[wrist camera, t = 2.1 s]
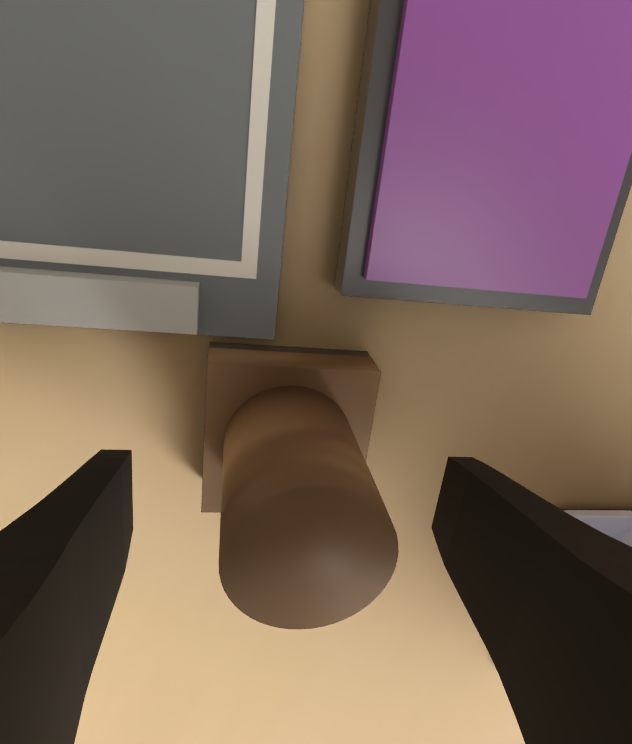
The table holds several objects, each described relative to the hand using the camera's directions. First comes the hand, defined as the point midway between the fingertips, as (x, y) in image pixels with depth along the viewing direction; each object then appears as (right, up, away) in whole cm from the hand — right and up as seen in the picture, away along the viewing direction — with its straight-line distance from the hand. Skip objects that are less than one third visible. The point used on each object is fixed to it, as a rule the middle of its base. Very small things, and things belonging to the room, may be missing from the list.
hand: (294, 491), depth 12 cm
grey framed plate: (-4, +9, 0) cm, 10 cm away
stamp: (0, +1, +4) cm, 4 cm away
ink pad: (+5, +8, +1) cm, 10 cm away
